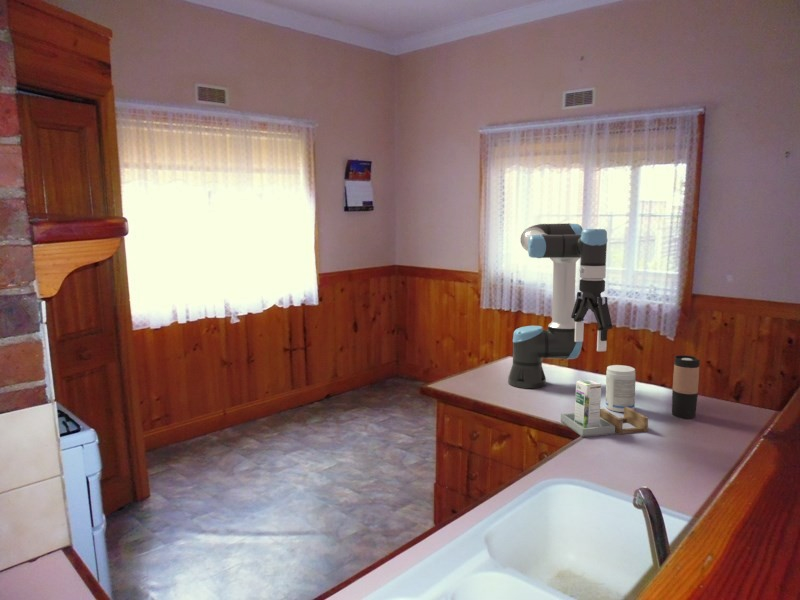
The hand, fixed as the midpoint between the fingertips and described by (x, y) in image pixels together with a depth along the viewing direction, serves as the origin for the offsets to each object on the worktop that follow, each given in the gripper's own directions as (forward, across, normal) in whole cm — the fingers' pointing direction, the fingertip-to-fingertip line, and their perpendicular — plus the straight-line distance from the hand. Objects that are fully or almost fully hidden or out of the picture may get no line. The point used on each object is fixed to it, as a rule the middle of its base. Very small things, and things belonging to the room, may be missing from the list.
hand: (589, 346), depth 175 cm
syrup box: (+26, 0, 0) cm, 26 cm away
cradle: (+27, +2, +11) cm, 29 cm away
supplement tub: (+27, -14, +20) cm, 36 cm away
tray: (+27, 0, 0) cm, 27 cm away
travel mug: (+27, -3, +37) cm, 46 cm away
